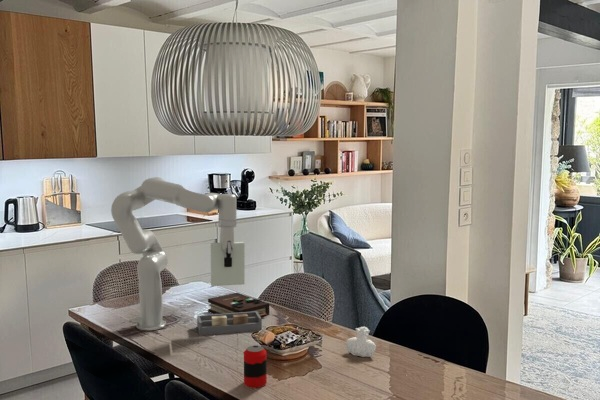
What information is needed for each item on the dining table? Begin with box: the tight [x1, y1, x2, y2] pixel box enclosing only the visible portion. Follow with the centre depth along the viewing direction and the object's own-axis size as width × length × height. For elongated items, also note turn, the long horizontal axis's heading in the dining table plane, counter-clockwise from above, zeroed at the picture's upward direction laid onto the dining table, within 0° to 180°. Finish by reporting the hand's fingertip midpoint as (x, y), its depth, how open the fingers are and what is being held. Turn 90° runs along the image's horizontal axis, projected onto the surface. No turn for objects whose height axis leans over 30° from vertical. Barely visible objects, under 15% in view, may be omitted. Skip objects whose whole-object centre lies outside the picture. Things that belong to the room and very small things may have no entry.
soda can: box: [243, 345, 268, 389], centre depth 188 cm, size 8×8×12 cm
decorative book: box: [207, 292, 270, 318], centre depth 263 cm, size 19×8×30 cm
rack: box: [196, 311, 263, 336], centre depth 240 cm, size 26×10×6 cm, turn 105°
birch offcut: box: [212, 316, 227, 326], centre depth 237 cm, size 6×3×6 cm, turn 105°
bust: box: [345, 326, 377, 358], centre depth 215 cm, size 12×8×11 cm
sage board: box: [210, 241, 245, 287], centre depth 240 cm, size 14×2×18 cm, turn 105°
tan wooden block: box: [233, 314, 248, 324], centre depth 239 cm, size 6×3×6 cm, turn 105°
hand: (227, 265), depth 240 cm, fingers closed on sage board, 2 cm apart
